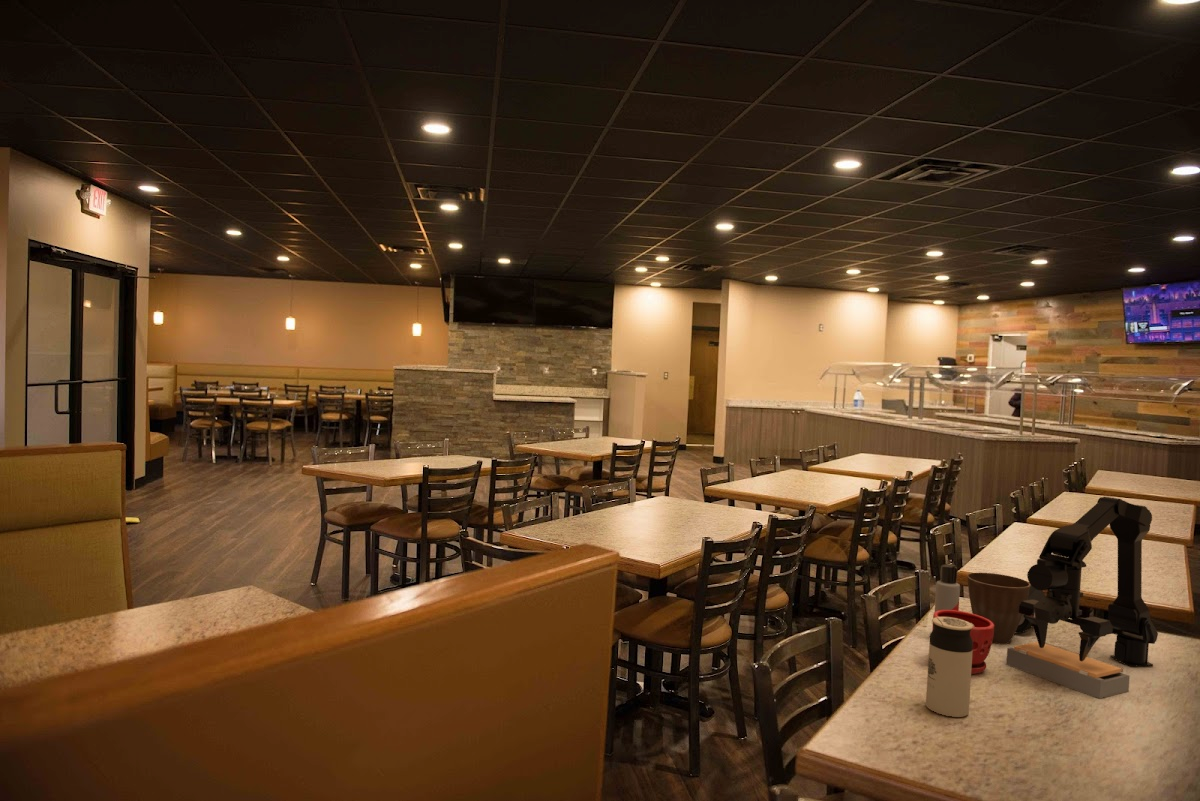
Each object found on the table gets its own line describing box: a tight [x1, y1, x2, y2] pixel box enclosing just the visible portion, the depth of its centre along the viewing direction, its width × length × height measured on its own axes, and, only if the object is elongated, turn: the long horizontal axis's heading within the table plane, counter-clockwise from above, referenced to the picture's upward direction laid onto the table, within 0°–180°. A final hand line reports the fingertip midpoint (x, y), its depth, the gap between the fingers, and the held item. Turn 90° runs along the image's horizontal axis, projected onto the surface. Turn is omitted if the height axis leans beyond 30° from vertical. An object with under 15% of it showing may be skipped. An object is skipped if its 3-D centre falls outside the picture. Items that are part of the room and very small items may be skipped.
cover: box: [1013, 641, 1124, 678], centre depth 180 cm, size 10×19×1 cm, turn 28°
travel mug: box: [925, 617, 974, 718], centre depth 158 cm, size 8×8×18 cm
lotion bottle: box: [933, 563, 961, 614], centre depth 203 cm, size 6×6×20 cm
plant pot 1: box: [931, 610, 994, 675], centre depth 183 cm, size 13×13×12 cm
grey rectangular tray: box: [1005, 647, 1131, 699], centre depth 180 cm, size 11×22×5 cm, turn 28°
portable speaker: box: [1015, 585, 1046, 634], centre depth 222 cm, size 26×10×10 cm, turn 142°
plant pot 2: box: [967, 572, 1031, 645], centre depth 206 cm, size 15×15×16 cm
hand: (1061, 654), depth 179 cm, fingers open, 9 cm apart
